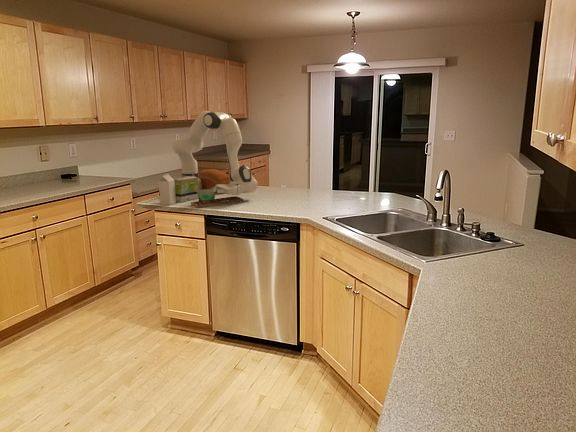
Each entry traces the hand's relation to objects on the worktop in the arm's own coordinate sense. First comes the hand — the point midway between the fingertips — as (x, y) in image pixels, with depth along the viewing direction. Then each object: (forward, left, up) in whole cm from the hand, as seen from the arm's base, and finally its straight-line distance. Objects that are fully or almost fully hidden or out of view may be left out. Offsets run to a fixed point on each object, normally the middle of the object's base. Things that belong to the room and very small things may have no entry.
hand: (214, 190), depth 268 cm
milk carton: (-18, -24, -9) cm, 31 cm away
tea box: (-24, -10, -9) cm, 28 cm away
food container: (0, -5, -9) cm, 10 cm away
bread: (-44, +19, -9) cm, 48 cm away
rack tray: (0, +2, -9) cm, 9 cm away
